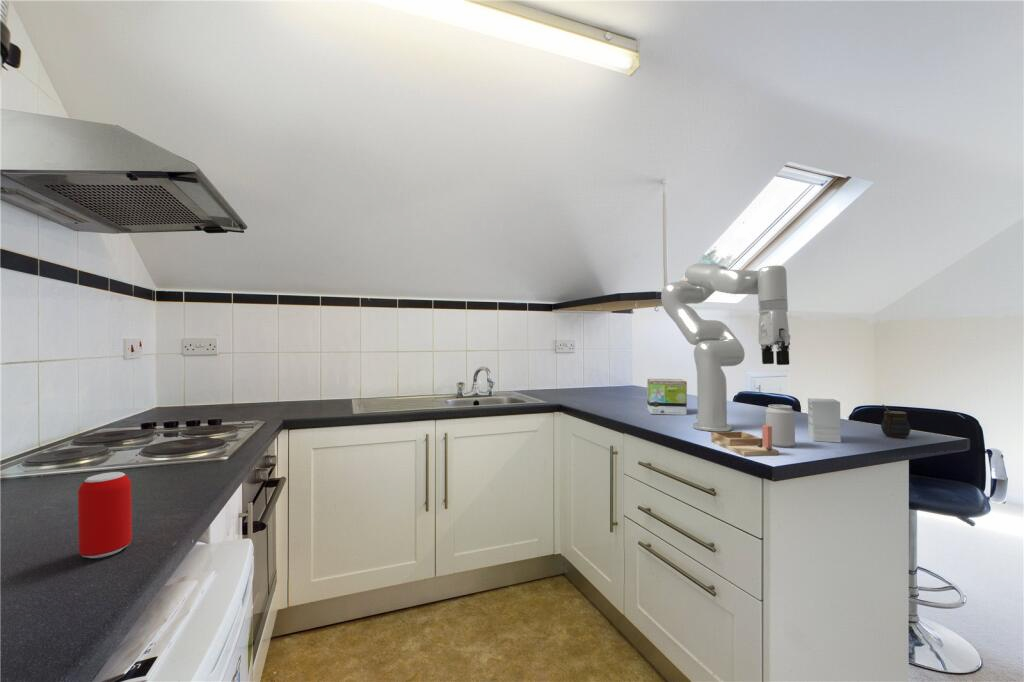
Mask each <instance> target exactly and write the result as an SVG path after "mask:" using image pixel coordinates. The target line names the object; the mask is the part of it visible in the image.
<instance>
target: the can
mask: <svg viewBox="0 0 1024 682" xmlns="http://www.w3.org/2000/svg"><path fill="white" fill-rule="evenodd" d="M795 419H796V412H795V410H794V409H793V406H791V405H786V404H768V405H767V408H766V409H765V425H768V426H772V447H775V448H786V449H787V448H792V447H793V446H794V445H795V444H796V421H795Z"/></svg>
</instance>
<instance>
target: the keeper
mask: <svg viewBox="0 0 1024 682" xmlns="http://www.w3.org/2000/svg"><path fill="white" fill-rule="evenodd" d="M761 429H762V430H761V433H762V435H761V436H762V437H761V438H762V446H763V447H766V448H767V447H771V448H773V446H772V426H768V425H766V424H762V425H761Z"/></svg>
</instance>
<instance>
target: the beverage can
mask: <svg viewBox="0 0 1024 682" xmlns="http://www.w3.org/2000/svg"><path fill="white" fill-rule="evenodd" d="M77 499H78V500H77V501H78V502H77V510H78V514H77V515H78V517H77V518H78V519H77V520H78V521H77V522H78V553H79V555H80V556H81V557H83V558H88V559H101V558H105V557H109V556H112V555H115V554H117V553H119V552H121V551H122V550H123V549H125V548H126V547H128V546H129V545H130V544H131V542H132V540H133V528H132V527H133V526H132V525H133V522H132V520H133V519H132V518H133V516H132V514H133V513H132V480H131V479H130V478H129V476H128V475H127V473H125V472H122V471H111V472H103V473H99V474H95V475H90V476H88V477H87V478H86V479H84V480H83V482H82V484H80V487H79V488H78V490H77Z"/></svg>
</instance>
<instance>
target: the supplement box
mask: <svg viewBox="0 0 1024 682" xmlns="http://www.w3.org/2000/svg"><path fill="white" fill-rule="evenodd" d="M807 424H808V425H807V430H808V431H807V434H808V435H807V436H808V437H809V439H811V440H812V442H825V443H826V442H827V443H840V444H841V442H842V437H841V436H842V434H841V431H842V430H841V425H842V424H841V402H840V401H839V400H837V399H834V398H814V397H813V398H811V397H807Z"/></svg>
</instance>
